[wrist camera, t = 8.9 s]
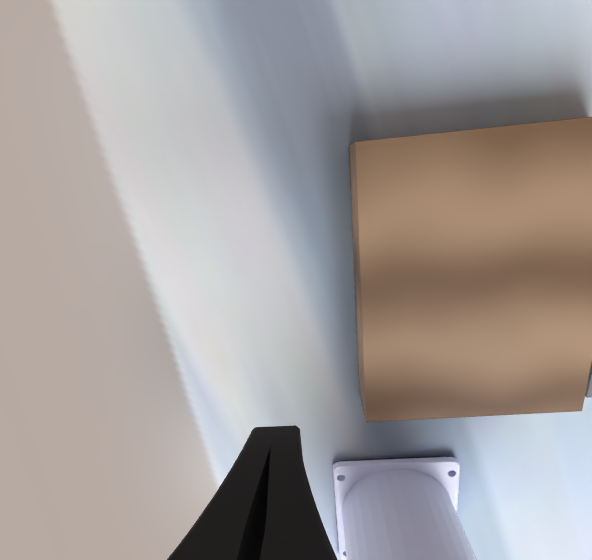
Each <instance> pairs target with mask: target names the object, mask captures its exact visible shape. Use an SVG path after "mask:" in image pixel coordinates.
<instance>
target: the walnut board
mask: <svg viewBox="0 0 592 560" xmlns="http://www.w3.org/2000/svg"><path fill="white" fill-rule="evenodd" d="M349 164H350V186H351V209H352V231H353V254H354V276H355V299H356V321H357V344H358V366H359V389H360V396H361V401H362V405H363V410H364V414H365V418H366V422H375V421H395V420H415V419H435V418H454V417H474V416H494V415H513V414H533V413H553V412H573V411H582V408H583V403H584V398H585V393H586V388H587V382H588V377H589V372H590V367H591V362H592V117H585V118H576V119H566V120H557V121H547V122H538V123H529V124H519V125H510V126H500V127H491V128H481V129H472V130H462V131H453V132H443V133H434V134H424V135H415V136H405V137H396V138H386V139H377V140H367V141H358V142H354V143H353V144H351V145H350V146H349Z"/></svg>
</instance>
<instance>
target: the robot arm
mask: <svg viewBox="0 0 592 560" xmlns="http://www.w3.org/2000/svg"><path fill="white" fill-rule="evenodd" d="M449 471H450V472H449ZM339 475H343V476H339ZM459 476H460V464H459V462H458V460H457V459H456V458H454V457H434V458H410V459H387V460H364V461H341V462H336V463H335V464H334V465H333V480H334V492H335V505H336V517H337V530H338V542H339V555H340V560H477V559H476V557H475V555H474V552H473V550H472V548H471V545H470V543H469V541H468V538H467V536H466V534H465V531H464V529H463V527H462V525H461V522H460V520H459V518H458V515H457V505H458V490H459ZM167 560H337V558H336V555H335V553H334V551H333V548H332V546H331V544H330V541H329V539H328V536H327V534H326V531H325V529H324V526H323V523H322V521H321V518H320V515H319V512H318V510H317V507H316V504H315V501H314V498H313V495H312V492H311V488H310V485H309V482H308V478H307V475H306V471H305V467H304V463H303V456H302V447H301V437H300V429H299V428H298V427H297V426H276V427H255V428H254V429H253V430H252V432H251V434H250V436H249V438H248V440H247V442H246V444H245V445H244V447H243V449H242V451H241V453H240V454H239V456H238V458H237V460H236V461H235V463H234V465H233V467H232V468H231V470H230V471H229V473H228V475H227V476H226V478H225V479H224V481H223V483H222V484H221V486H220V487H219V489H218V491H217V492H216V494H215V495H214V497H213V498H212V500H211V501H210V503H209V504H208V505H207V507H206V508H205V510H204V511H203V513H202V514H201V516H200V517H199V518H198V520H197V521H196V523H195V524H194V525H193V527H192V528H191V529H190V531H189V532H188V534H187V535H186V536H185V538H184V539H183V540H182V541H181V543H180V544H179V545H178V547H177V548H176V549H175V550H174V552H173V553H172V554H171V555H170V557H169V558H168V559H167Z"/></svg>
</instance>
